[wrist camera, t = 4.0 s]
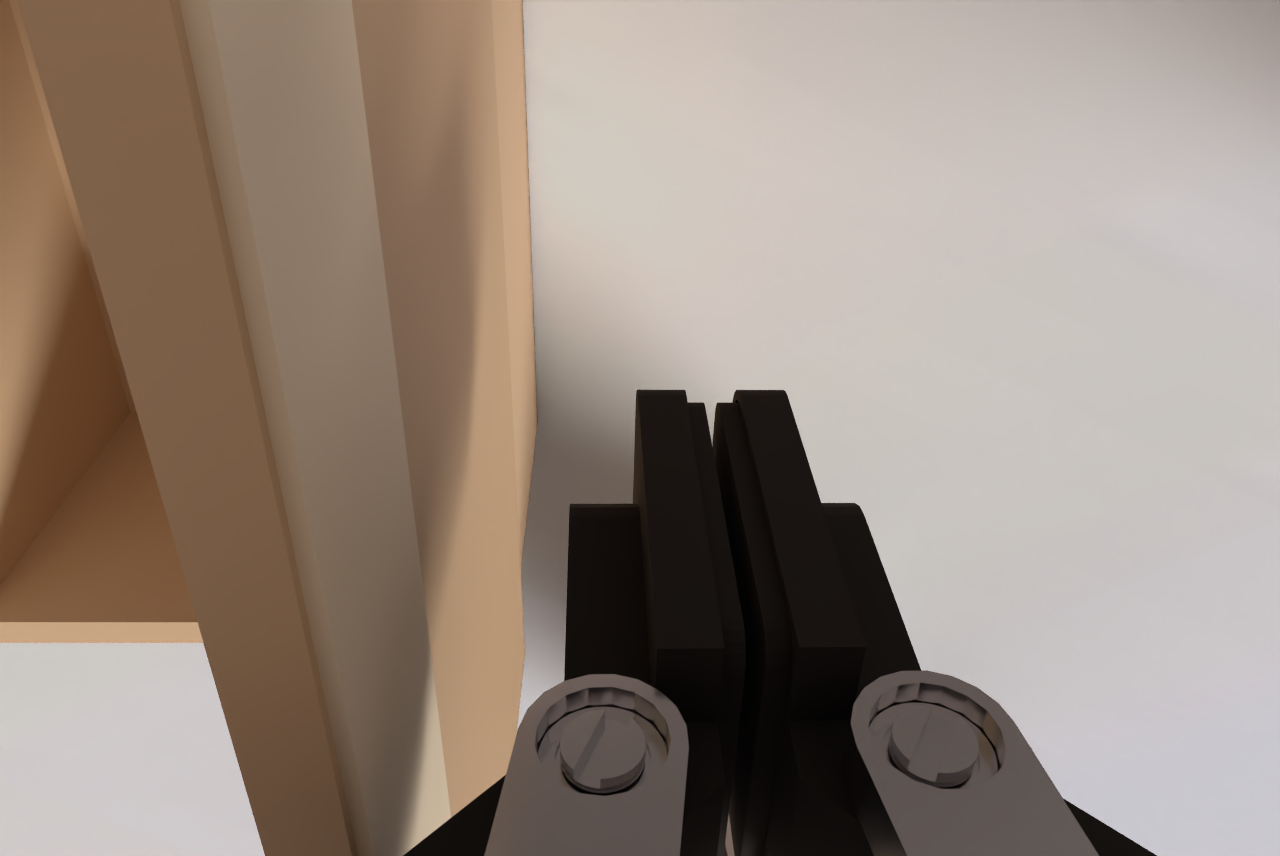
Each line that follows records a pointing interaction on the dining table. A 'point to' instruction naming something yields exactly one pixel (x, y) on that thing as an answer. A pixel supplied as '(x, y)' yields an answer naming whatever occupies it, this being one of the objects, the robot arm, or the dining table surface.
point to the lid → (316, 378)
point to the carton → (101, 398)
